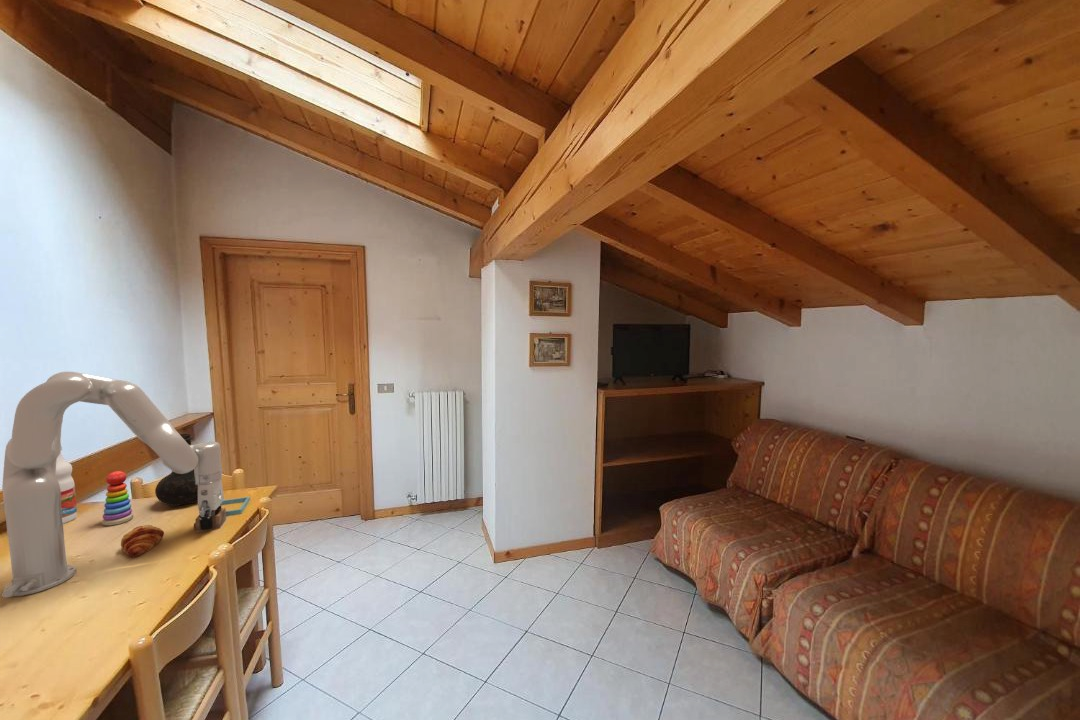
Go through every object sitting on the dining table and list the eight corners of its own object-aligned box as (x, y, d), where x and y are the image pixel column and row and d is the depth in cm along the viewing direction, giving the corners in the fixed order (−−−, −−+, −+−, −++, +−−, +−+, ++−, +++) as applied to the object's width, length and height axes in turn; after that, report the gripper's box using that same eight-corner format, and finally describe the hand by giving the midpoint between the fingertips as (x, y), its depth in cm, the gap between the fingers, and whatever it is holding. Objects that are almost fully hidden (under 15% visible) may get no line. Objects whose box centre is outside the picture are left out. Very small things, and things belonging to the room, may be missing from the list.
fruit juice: (43, 519, 148) (36, 446, 145) (81, 512, 153) (74, 442, 151) (32, 530, 140) (24, 453, 138) (72, 522, 146) (65, 448, 143)
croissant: (137, 544, 139) (120, 528, 136) (170, 523, 144) (155, 507, 141) (125, 573, 122) (106, 555, 119) (164, 548, 127) (146, 530, 125)
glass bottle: (149, 514, 153) (144, 443, 150) (165, 496, 168) (160, 431, 166) (208, 505, 161) (204, 437, 159) (218, 488, 177) (214, 427, 174)
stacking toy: (117, 526, 143) (113, 476, 142) (95, 526, 144) (91, 476, 142) (139, 516, 151) (135, 468, 150) (119, 515, 151) (115, 468, 150)
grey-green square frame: (241, 515, 153) (241, 509, 153) (200, 521, 148) (200, 515, 148) (250, 501, 165) (250, 496, 164) (212, 506, 160) (212, 501, 159)
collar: (220, 527, 142) (219, 515, 142) (191, 532, 139) (190, 520, 139) (226, 519, 149) (225, 507, 148) (198, 523, 145) (197, 511, 145)
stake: (220, 529, 142) (219, 514, 142) (195, 533, 140) (194, 518, 139) (228, 518, 151) (227, 504, 150) (205, 521, 148) (204, 507, 147)
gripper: (213, 484, 136) (216, 532, 138) (229, 467, 152) (231, 510, 153) (185, 487, 133) (188, 536, 135) (204, 470, 149) (207, 514, 150)
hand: (211, 522), depth 144 cm, fingers open, 9 cm apart
